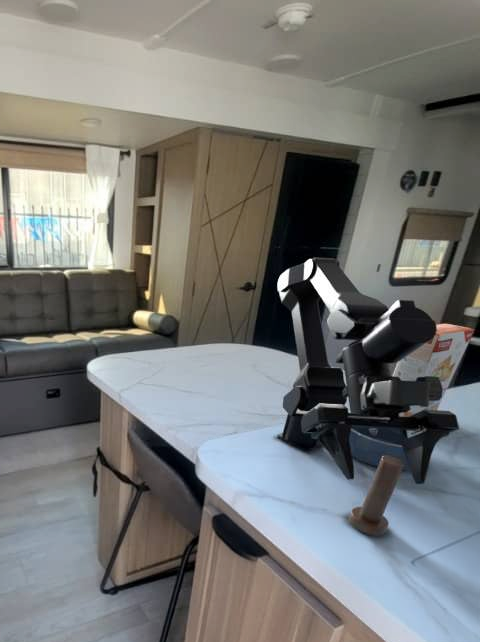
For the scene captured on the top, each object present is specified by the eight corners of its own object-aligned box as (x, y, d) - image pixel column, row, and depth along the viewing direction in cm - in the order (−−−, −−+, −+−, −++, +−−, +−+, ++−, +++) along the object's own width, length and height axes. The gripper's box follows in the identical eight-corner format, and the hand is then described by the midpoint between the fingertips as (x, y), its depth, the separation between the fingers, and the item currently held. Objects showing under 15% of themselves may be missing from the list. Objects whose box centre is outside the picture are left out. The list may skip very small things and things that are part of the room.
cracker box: (402, 429, 87) (442, 334, 78) (374, 418, 92) (408, 327, 83) (436, 418, 93) (477, 328, 84) (408, 408, 98) (444, 321, 89)
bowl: (319, 444, 80) (326, 421, 78) (356, 427, 88) (364, 406, 85) (400, 481, 69) (411, 456, 67) (435, 458, 77) (446, 435, 75)
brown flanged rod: (342, 521, 59) (366, 457, 55) (358, 511, 62) (382, 448, 57) (375, 540, 56) (404, 473, 51) (391, 528, 58) (420, 464, 53)
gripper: (332, 348, 53) (348, 463, 48) (480, 355, 52) (512, 474, 47) (295, 382, 64) (305, 481, 59) (418, 389, 63) (438, 490, 58)
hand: (385, 481), depth 55 cm, fingers open, 9 cm apart
